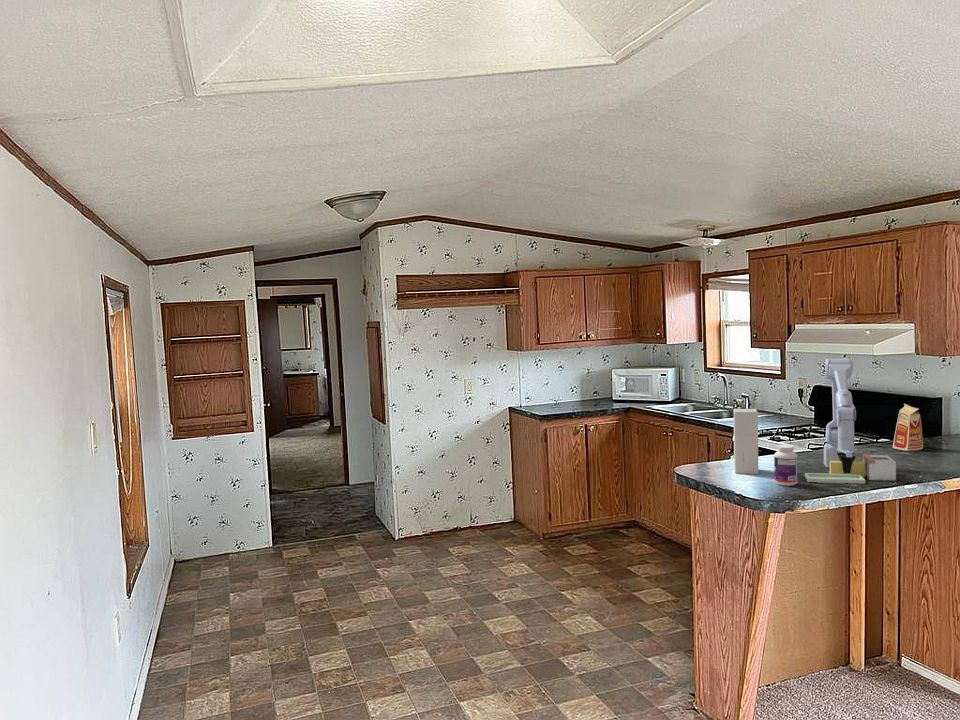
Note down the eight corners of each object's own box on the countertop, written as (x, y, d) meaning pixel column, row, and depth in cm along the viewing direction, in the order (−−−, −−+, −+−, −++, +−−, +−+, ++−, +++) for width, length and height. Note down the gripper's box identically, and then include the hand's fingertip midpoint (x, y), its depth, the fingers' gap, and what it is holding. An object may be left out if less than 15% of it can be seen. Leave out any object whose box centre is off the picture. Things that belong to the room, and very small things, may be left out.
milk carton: (892, 447, 349) (892, 403, 347) (908, 446, 352) (908, 402, 350) (909, 451, 340) (909, 406, 339) (925, 449, 343) (925, 404, 341)
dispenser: (869, 479, 292) (869, 460, 292) (862, 472, 305) (862, 453, 304) (895, 480, 290) (895, 461, 289) (887, 472, 302) (887, 454, 302)
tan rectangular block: (830, 476, 300) (830, 462, 300) (829, 474, 303) (829, 460, 303) (864, 477, 297) (864, 463, 297) (863, 475, 300) (863, 461, 300)
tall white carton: (735, 473, 311) (734, 411, 309) (734, 468, 319) (733, 408, 317) (758, 474, 308) (757, 411, 306) (756, 469, 317) (756, 408, 315)
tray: (808, 482, 292) (808, 478, 292) (804, 476, 301) (804, 472, 301) (865, 484, 286) (865, 480, 286) (860, 478, 296) (860, 474, 296)
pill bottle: (778, 480, 297) (778, 443, 295) (800, 483, 291) (800, 445, 290) (771, 484, 290) (770, 446, 289) (793, 487, 285) (793, 448, 284)
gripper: (861, 440, 291) (861, 476, 292) (853, 434, 305) (853, 468, 306) (840, 440, 293) (840, 476, 294) (834, 434, 307) (834, 467, 308)
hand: (845, 472), depth 300 cm, fingers closed on tan rectangular block, 3 cm apart
